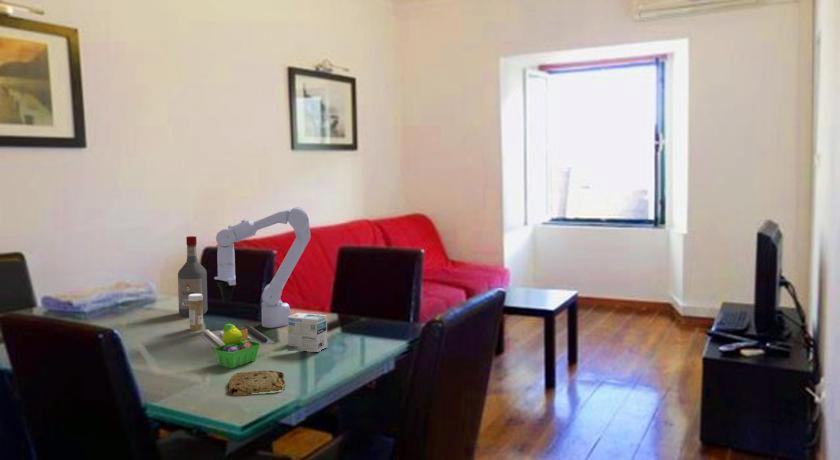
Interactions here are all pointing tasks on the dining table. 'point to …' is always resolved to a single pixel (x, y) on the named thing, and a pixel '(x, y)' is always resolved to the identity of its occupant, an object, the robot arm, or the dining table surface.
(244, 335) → the block
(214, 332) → the panel
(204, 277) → the liquor
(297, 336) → the light bulb box
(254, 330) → the dark grey rounded rod
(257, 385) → the pastry
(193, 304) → the sprinkles bottle
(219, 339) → the white rounded rod
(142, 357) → the dining table surface
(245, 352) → the fruit basket
